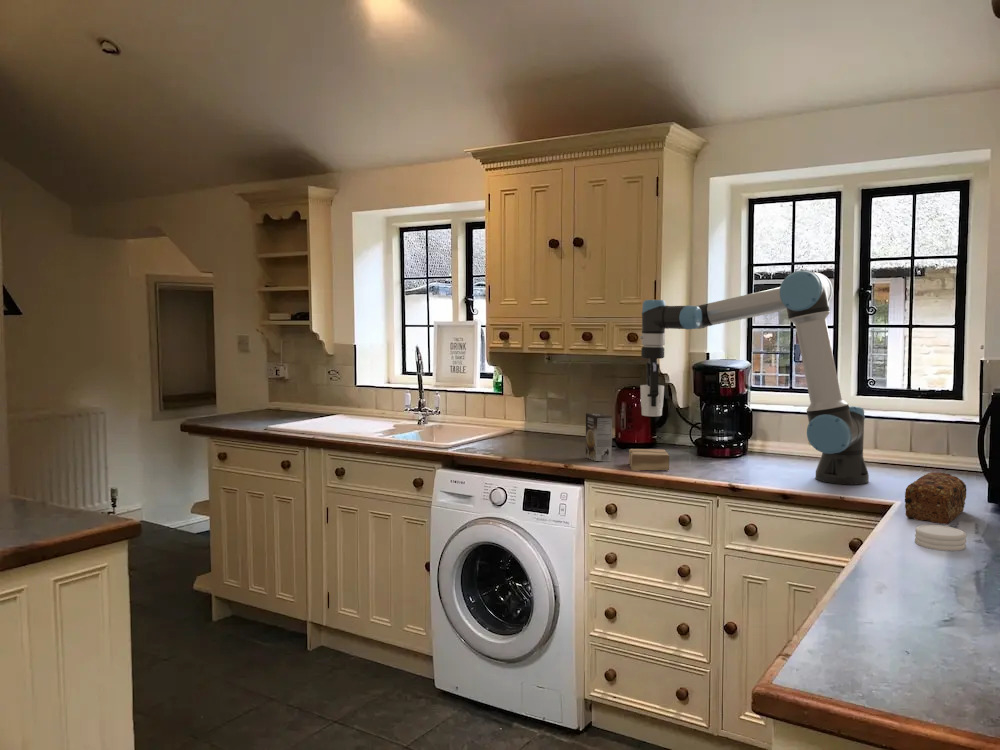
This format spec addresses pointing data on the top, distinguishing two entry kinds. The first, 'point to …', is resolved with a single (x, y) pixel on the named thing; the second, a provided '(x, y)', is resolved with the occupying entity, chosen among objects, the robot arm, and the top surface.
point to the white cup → (645, 399)
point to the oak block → (648, 459)
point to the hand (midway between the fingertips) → (651, 414)
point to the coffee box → (598, 436)
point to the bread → (935, 498)
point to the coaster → (940, 538)
